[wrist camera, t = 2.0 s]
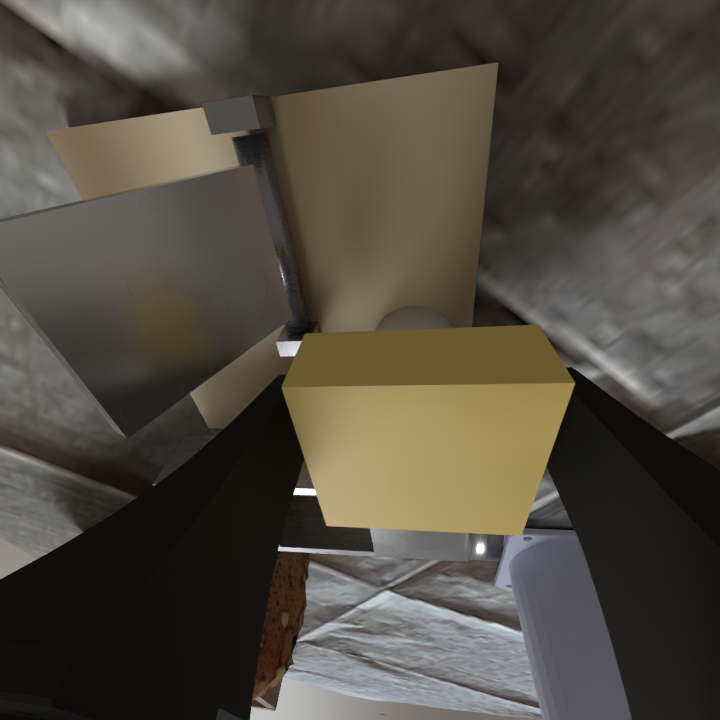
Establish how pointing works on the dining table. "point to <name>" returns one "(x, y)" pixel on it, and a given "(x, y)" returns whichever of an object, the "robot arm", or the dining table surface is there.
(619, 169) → the dining table surface
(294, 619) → the bread
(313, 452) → the pale yellow block
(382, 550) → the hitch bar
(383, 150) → the base board
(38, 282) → the plate
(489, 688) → the dining table surface
